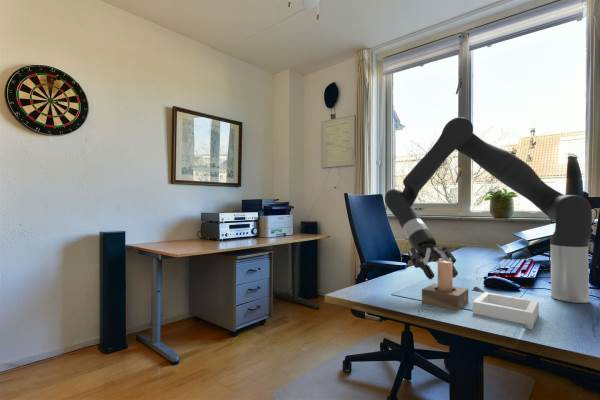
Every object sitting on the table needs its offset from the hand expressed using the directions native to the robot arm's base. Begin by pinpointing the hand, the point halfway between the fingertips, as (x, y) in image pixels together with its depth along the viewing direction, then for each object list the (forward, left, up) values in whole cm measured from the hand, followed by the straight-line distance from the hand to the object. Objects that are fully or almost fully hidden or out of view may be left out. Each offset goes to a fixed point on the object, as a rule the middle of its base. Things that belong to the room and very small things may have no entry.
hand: (444, 277), depth 94 cm
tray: (-2, +15, -8) cm, 18 cm away
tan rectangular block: (0, 0, -7) cm, 8 cm away
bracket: (-18, 0, -9) cm, 20 cm away
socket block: (0, 0, -8) cm, 8 cm away
